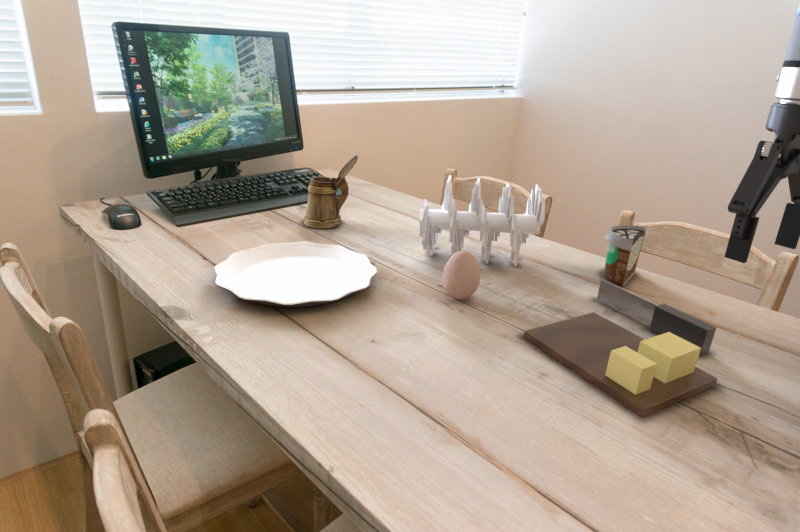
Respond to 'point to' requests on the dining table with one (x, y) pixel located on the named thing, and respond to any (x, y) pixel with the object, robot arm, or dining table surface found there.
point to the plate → (295, 273)
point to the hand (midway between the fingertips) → (761, 252)
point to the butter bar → (670, 356)
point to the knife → (658, 316)
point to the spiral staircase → (482, 220)
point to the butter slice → (630, 370)
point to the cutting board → (589, 354)
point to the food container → (623, 252)
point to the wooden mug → (327, 198)
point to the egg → (461, 275)
